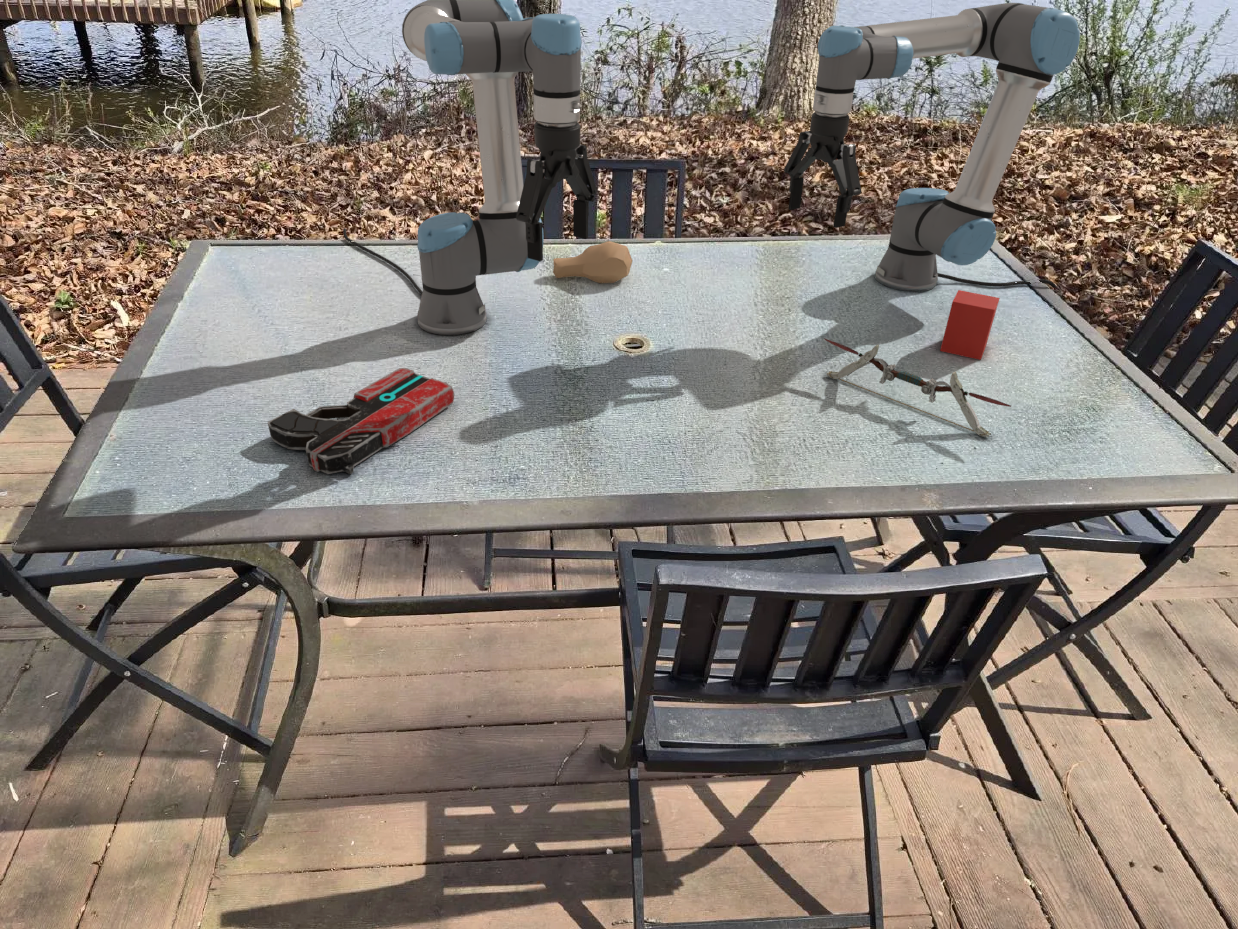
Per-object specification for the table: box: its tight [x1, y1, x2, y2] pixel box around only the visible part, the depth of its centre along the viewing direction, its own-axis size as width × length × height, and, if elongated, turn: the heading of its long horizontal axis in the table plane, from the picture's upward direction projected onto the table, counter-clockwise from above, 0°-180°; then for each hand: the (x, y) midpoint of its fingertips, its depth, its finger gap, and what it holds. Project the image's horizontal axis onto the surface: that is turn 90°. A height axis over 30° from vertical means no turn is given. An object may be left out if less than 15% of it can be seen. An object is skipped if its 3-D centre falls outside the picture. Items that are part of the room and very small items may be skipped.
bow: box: [822, 337, 1012, 438], centre depth 167 cm, size 39×2×10 cm, turn 47°
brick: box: [939, 289, 1000, 361], centre depth 189 cm, size 7×8×12 cm
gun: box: [266, 367, 456, 475], centre depth 158 cm, size 4×31×19 cm
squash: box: [552, 240, 633, 284], centre depth 218 cm, size 11×20×9 cm, turn 90°
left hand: (558, 247), depth 154 cm, fingers open, 13 cm apart
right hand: (816, 217), depth 188 cm, fingers open, 13 cm apart
